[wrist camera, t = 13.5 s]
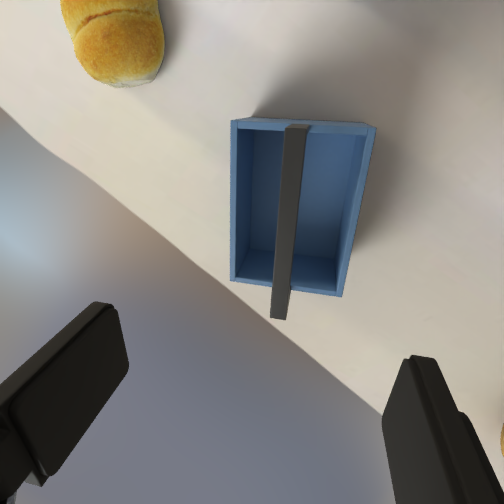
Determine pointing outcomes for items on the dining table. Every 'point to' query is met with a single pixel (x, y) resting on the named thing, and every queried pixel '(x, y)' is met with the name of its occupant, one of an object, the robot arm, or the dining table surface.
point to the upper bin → (295, 203)
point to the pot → (502, 440)
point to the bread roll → (116, 39)
